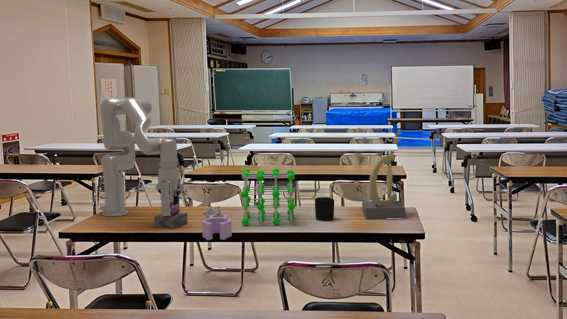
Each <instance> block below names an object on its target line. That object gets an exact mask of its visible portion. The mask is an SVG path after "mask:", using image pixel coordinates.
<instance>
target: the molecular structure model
mask: <svg viewBox="0 0 567 319" xmlns="http://www.w3.org/2000/svg"><path fill="white" fill-rule="evenodd" d="M295 176H296V175H295V172H294V170H292V169H290V168H289V169H288V170H283V171H282V170H281V171H280V169H279V168H278V167H274V168H273V169H272V170H271V171H264V170H263V169H259V170H258V171H251V169H249V168H247V167H246V168H244V169H243V171H242V174H241V178H242V180H243V181H244V183H243V185H244V186H243V187H242V191H241V192H240V197H241V198H243V202H242V204H241V205H242V208H243V210H244V214H243V215H242V216H243V218H242V220H241V224H242V226H245V227H246V226H248V225H249V224H260V225H262V224H268V223H270V224H273V225H274V226H279V225H280V224H281V223H282V224H284V223H289V224H291V225H292V224H293V223H294V221H295V219H296V218H295V216H294V214H295V211H294V209H296V205H295V199H294V198H293V197H292V196H293V195H294V193H295V189H294V184H293V183H292V182H293V181H294V180H295V178H296V177H295ZM248 179H256V181H258V182H259V183H258V185H256V186H250V185H249V184H248V183H249V180H248ZM264 179H273V180H274V185H272V186H271V185H269V186H268V185H267V186H266V185H265V184H264V183H263V180H264ZM278 179H287V180H288V181H289V182H288V183H287V184H286V185H278V184H277V182H278ZM264 195H265V196H266V195H267V196H269V195H270V196H271V195H272V198H264V197H263V196H264ZM281 195H289V196H288V197H286V198H285V197H283V198H282V197H280V196H281ZM250 196H259V198H251V197H250ZM251 203H253V204H251ZM254 203H257V204H254ZM265 203H272V204H265ZM280 203H287V204H280ZM269 208H270V209H272V208H273V209H274V211H273V212H266V210H264V209H269ZM279 208H280V209H282V208H288V209H287V211H286V212H284V211H283V212H279V211H278V209H279ZM249 209H257V210H258V212H251V211H249ZM286 214H287V215H286ZM267 217H268V218H267ZM280 217H283V218H280Z"/></svg>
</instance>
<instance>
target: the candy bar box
mask: <svg viewBox="0 0 567 319" xmlns="http://www.w3.org/2000/svg"><path fill="white" fill-rule="evenodd" d="M160 187H161V195H160V201H161V202H160V204H161V214H162V216H173V215H175V214H176V213H181V212H180V211H181V210H180V201H179V202H178V204H176V205H174V196H175V195H174V192H173V191H172V181H161V182H160ZM178 190H180V189H178Z"/></svg>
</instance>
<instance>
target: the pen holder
mask: <svg viewBox="0 0 567 319" xmlns="http://www.w3.org/2000/svg"><path fill="white" fill-rule="evenodd" d="M314 211H315V212H314V213H315V219H316V220H317V221H320V222H328V221H333V220H334V218H335V199H334V198H332V197H330V196H320V197H315V198H314Z"/></svg>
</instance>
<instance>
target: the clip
mask: <svg viewBox="0 0 567 319" xmlns="http://www.w3.org/2000/svg"><path fill="white" fill-rule="evenodd" d="M221 215H222V217H216V215H211V216H209V218H208V219H207V218H205V219H202V221H201V224H202V226H201V227H202V238H204V239H206V241H210V240H213V234H214V235H215V234H219V239H220V240H223V241H224V240H226V239H228V238H229V239H230V237H232V235H233V232H232V231H233V230H232V229H233V228H232V219H231V218H229V215H228V214H223V213H222V214H221Z"/></svg>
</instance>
